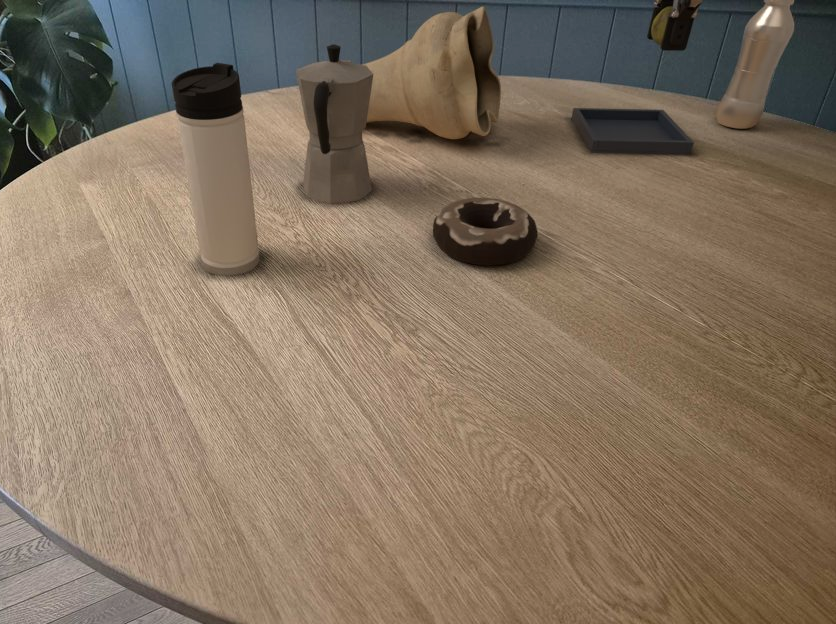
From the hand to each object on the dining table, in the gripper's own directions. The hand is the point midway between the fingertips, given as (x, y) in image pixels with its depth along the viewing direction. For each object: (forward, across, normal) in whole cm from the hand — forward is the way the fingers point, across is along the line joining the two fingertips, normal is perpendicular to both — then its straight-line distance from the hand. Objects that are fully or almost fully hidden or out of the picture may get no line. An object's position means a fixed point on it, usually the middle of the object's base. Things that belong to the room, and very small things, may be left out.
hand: (665, 42), depth 89 cm
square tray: (+15, +6, 0) cm, 16 cm away
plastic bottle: (+16, +12, -19) cm, 27 cm away
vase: (+15, +7, +34) cm, 38 cm away
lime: (+1, 0, 0) cm, 1 cm away
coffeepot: (+15, -17, +44) cm, 50 cm away
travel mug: (+15, -34, +54) cm, 66 cm away
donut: (+15, -30, +26) cm, 43 cm away
